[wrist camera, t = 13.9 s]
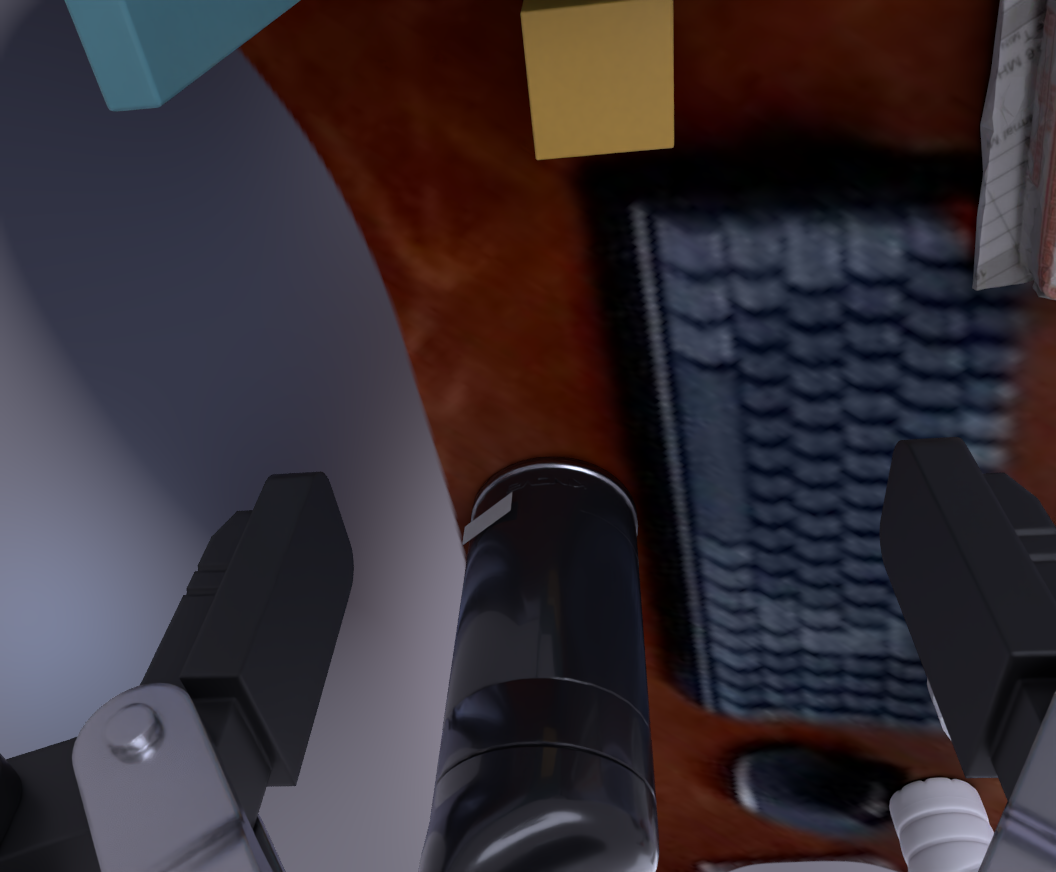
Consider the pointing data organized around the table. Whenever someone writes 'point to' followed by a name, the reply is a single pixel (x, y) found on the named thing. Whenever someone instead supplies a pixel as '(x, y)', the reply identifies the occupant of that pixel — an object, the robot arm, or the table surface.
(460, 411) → the table surface
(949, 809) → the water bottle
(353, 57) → the table surface
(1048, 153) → the packaged product
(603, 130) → the block
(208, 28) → the lid
